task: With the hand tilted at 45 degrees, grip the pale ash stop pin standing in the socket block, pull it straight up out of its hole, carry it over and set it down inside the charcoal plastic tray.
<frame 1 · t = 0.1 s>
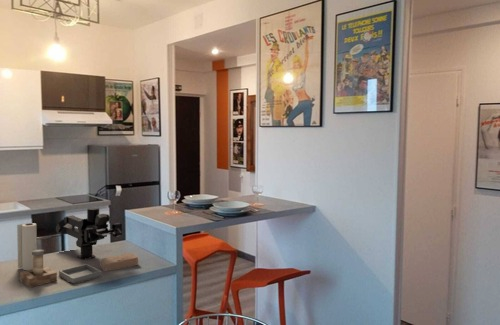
hand: (113, 235, 192), 17 cm above the countertop, tool horizontal, fingers open, 9 cm apart
tray: (80, 276, 184), on the countertop
paper towel roll: (28, 268, 191), on the countertop
stop pin: (38, 265, 177), in the socket block
brick: (119, 266, 199), on the countertop
socket block: (38, 280, 177), on the countertop
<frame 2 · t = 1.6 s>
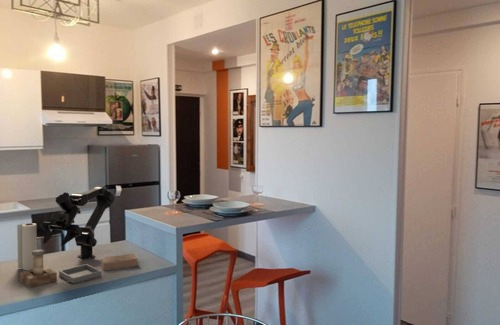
hand: (52, 244, 184), 14 cm above the countertop, tool tilted 45°, fingers open, 9 cm apart
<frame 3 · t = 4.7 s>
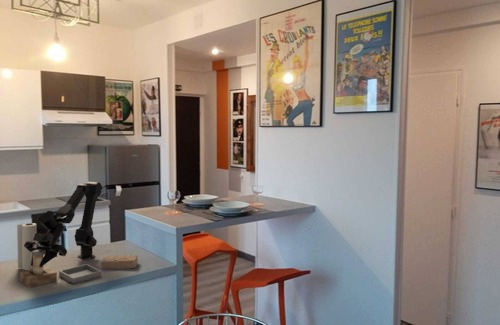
hand: (35, 266, 175), 7 cm above the countertop, tool tilted 45°, fingers closed on stop pin, 4 cm apart
stop pin: (38, 265, 177), in the socket block, touching gripper
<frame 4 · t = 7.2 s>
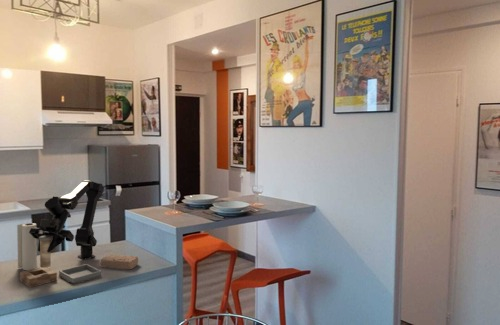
hand: (43, 251, 175), 13 cm above the countertop, tool tilted 45°, fingers closed on stop pin, 4 cm apart
stop pin: (45, 251, 176), point 13 cm above the countertop, touching gripper
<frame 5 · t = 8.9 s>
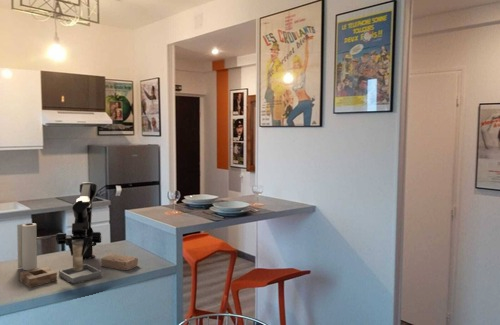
hand: (77, 255, 178), 11 cm above the countertop, tool tilted 45°, fingers closed on stop pin, 4 cm apart
stop pin: (77, 255, 179), point 11 cm above the countertop, touching gripper
when the fingers open (9 cm above the countertop, at t = 10.1 s): stop pin drops 1 cm, resting on tray.
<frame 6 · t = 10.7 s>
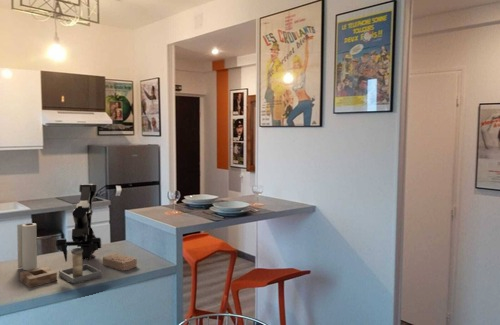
hand: (77, 260, 178), 9 cm above the countertop, tool tilted 45°, fingers open, 9 cm apart
stop pin: (77, 263, 179), in the tray
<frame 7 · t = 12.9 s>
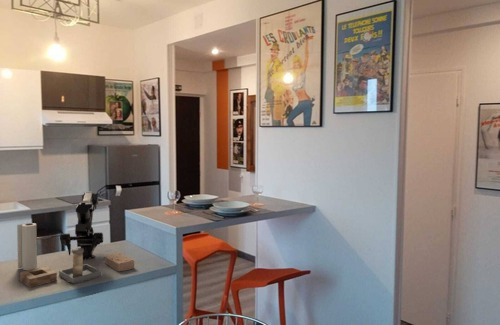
hand: (80, 254, 187), 9 cm above the countertop, tool tilted 45°, fingers open, 9 cm apart
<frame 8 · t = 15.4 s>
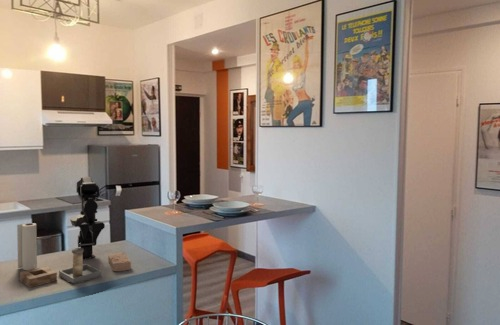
hand: (89, 240, 195), 13 cm above the countertop, tool pointing down, fingers open, 9 cm apart
at the end: stop pin inside the target area on the tray (3.5 cm from its centre), point 7.0 cm above the tray's base; stop pin moved 16.3 cm from its start; the gripper is holding nothing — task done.
